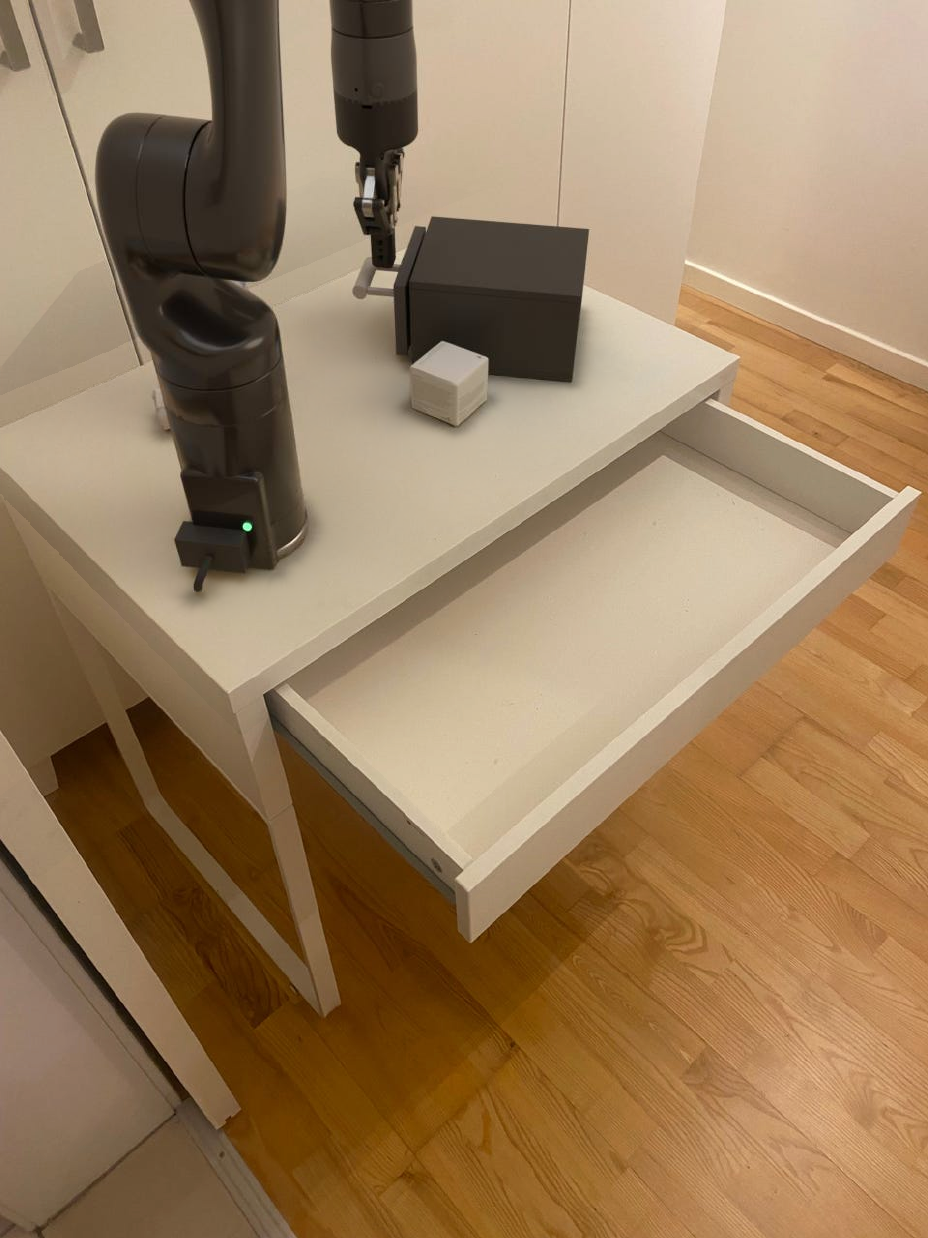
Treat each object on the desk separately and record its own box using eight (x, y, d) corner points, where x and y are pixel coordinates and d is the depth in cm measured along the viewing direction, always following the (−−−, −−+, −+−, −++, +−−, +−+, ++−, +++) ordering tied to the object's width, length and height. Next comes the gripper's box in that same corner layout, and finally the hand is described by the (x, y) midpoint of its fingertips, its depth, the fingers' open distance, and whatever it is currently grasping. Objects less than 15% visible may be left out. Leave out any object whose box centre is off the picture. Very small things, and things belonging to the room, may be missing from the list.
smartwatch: (183, 435, 91) (174, 399, 88) (159, 438, 90) (150, 403, 87) (179, 413, 93) (171, 377, 90) (157, 416, 93) (147, 381, 90)
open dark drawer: (348, 350, 99) (343, 280, 93) (372, 289, 107) (368, 221, 102) (545, 368, 98) (552, 298, 92) (554, 305, 106) (561, 237, 100)
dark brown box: (411, 367, 99) (409, 280, 92) (432, 299, 108) (431, 215, 101) (571, 382, 98) (582, 295, 91) (579, 312, 107) (589, 228, 100)
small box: (441, 380, 97) (441, 338, 94) (489, 400, 95) (491, 357, 92) (408, 408, 94) (407, 365, 91) (457, 428, 92) (457, 385, 89)
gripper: (349, 52, 90) (361, 230, 103) (316, 107, 81) (333, 294, 94) (428, 58, 89) (430, 236, 102) (403, 113, 81) (409, 301, 94)
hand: (384, 264), depth 98 cm, fingers closed
